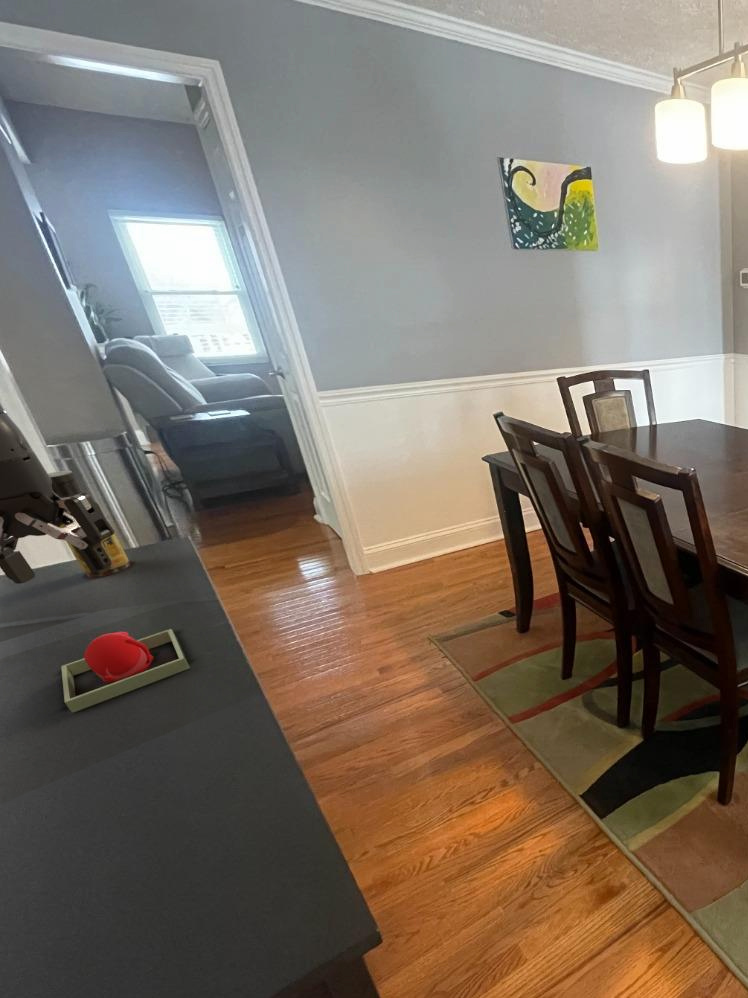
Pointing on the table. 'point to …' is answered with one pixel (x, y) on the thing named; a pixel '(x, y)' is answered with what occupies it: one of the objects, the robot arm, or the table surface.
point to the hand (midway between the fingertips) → (65, 576)
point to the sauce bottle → (68, 487)
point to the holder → (125, 684)
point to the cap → (117, 656)
